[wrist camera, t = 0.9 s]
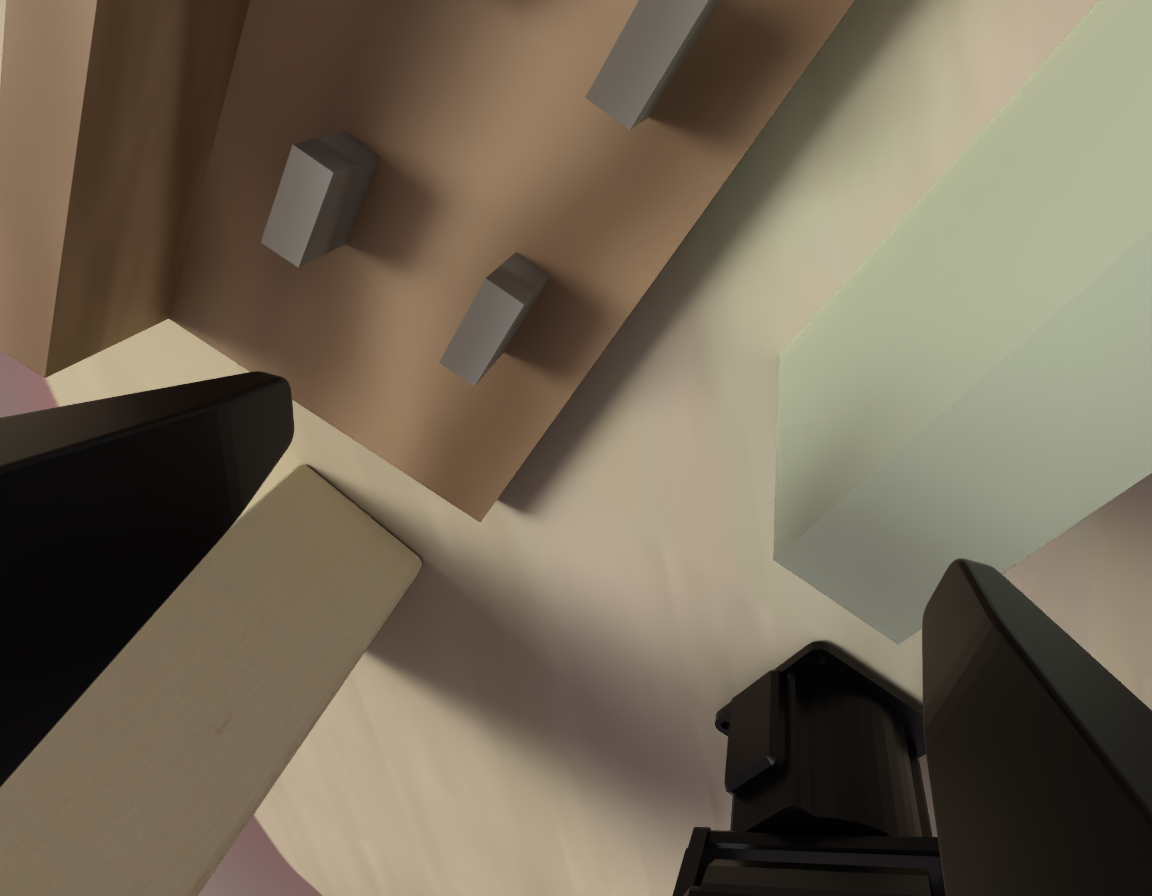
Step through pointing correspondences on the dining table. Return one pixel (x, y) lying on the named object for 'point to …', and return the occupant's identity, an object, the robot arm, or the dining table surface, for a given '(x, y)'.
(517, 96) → the cabinet base
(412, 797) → the dining table surface
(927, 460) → the door panel
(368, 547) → the toy refrigerator
